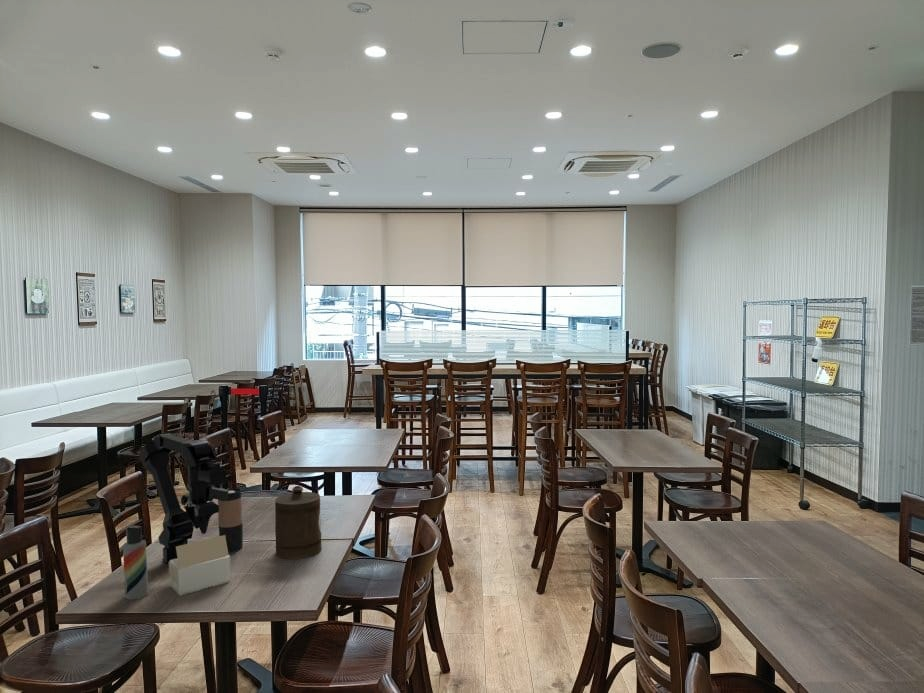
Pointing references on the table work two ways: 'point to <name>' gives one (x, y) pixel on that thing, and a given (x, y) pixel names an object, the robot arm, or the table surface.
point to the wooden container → (297, 524)
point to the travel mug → (231, 519)
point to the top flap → (201, 551)
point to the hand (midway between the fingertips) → (200, 530)
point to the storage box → (199, 575)
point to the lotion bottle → (135, 564)
